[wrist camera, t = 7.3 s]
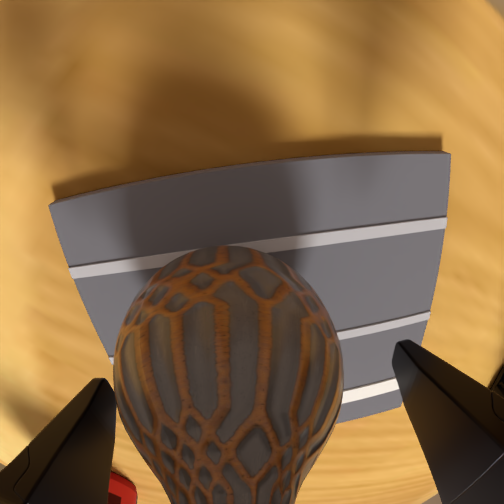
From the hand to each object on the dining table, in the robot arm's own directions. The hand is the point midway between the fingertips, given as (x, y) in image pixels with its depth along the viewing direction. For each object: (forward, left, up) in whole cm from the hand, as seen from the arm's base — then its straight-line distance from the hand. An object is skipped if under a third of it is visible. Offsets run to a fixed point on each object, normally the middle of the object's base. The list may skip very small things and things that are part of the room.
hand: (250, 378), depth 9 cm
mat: (-1, +3, -5) cm, 6 cm away
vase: (+1, 0, -4) cm, 5 cm away
